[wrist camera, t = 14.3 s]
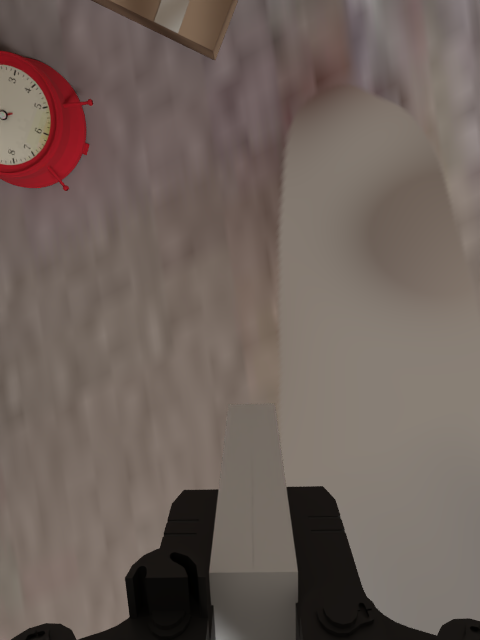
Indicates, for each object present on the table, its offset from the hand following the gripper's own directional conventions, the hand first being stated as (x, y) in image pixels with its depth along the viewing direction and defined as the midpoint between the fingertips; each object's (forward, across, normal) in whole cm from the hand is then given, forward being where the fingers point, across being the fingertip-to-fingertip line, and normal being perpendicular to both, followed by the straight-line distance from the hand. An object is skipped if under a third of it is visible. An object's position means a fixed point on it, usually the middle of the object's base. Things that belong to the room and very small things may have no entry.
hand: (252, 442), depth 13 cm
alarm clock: (+27, -21, +16) cm, 38 cm away
